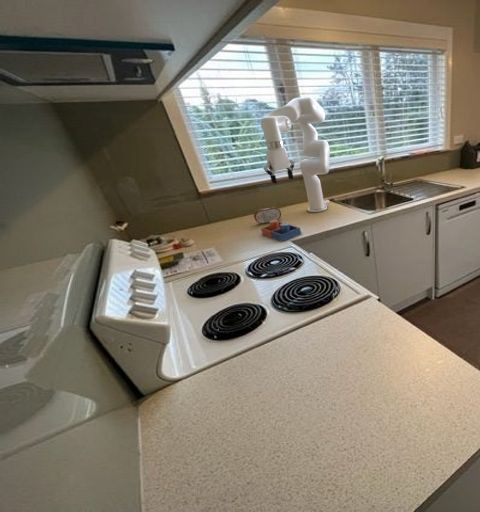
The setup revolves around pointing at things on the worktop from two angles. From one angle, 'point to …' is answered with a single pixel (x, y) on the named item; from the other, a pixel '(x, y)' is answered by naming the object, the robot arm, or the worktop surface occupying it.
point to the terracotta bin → (268, 230)
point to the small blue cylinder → (284, 227)
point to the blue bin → (282, 237)
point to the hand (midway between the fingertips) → (283, 181)
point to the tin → (267, 215)
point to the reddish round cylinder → (274, 224)
